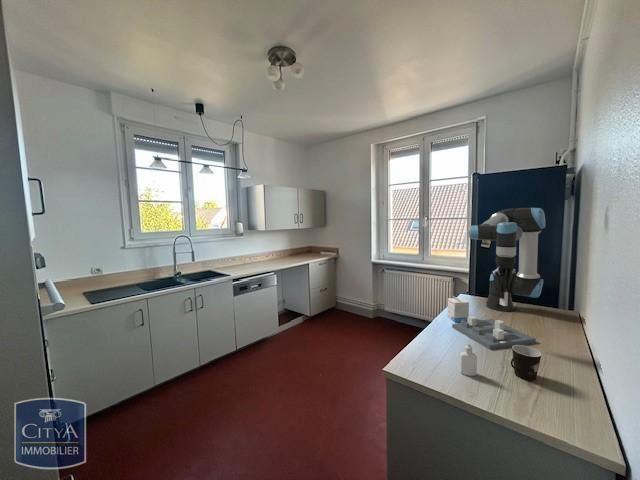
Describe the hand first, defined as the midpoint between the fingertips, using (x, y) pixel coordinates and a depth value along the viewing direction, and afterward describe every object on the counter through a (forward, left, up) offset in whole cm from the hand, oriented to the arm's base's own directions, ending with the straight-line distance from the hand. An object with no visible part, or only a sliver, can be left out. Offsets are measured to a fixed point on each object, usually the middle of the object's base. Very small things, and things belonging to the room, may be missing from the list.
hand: (503, 305), depth 122 cm
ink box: (0, -29, -19) cm, 34 cm away
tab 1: (+2, -16, -16) cm, 23 cm away
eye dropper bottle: (+34, +17, -19) cm, 43 cm away
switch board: (-2, -8, -18) cm, 20 cm away
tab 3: (+2, 0, -16) cm, 16 cm away
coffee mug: (+16, +23, -19) cm, 34 cm away
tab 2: (-7, -8, -16) cm, 19 cm away
